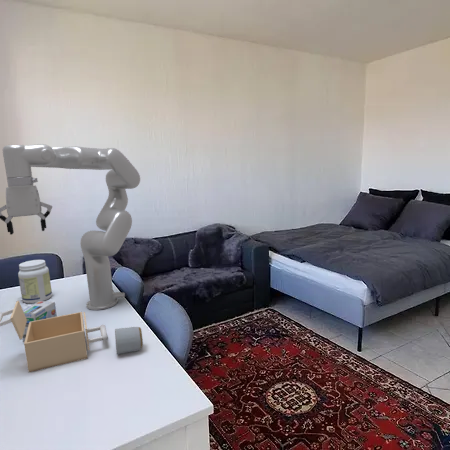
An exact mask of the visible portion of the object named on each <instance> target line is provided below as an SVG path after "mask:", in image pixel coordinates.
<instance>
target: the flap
mask: <svg viewBox="0 0 450 450" xmlns="http://www.w3.org/2000/svg"><path fill="white" fill-rule="evenodd" d="M23 310H24V309H23V307H22V305H21V303H20V300H17V301H16V302H15V304H14V307H13V308H10V309H9V310H5V311H3V312H2V311H0V327H3V326H5V325H8V324H10V323H11V324H12V325H13V328H14V330H15V332H16V334H17V337H18V339H19V340H23V338H22V337H23V333H24V330H25V326H26V322H27V319H26V316H25V314H24V312H23ZM8 315H10V318H7V319H4V320H3V317H6V316H8Z"/></svg>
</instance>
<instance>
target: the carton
mask: <svg viewBox="0 0 450 450" xmlns="http://www.w3.org/2000/svg"><path fill="white" fill-rule="evenodd" d="M86 317H87V316H86V312H85V311H83V312H82V311H78V312H74V313H69V314H64V315H63V314H61V315H59V316H58V315H57V317H52V318H47V319H42V320H37V321H32V322H29V326H28V330H27V334H26V338H25V342H23V343H24V344H23V345H24V353H25V357H26V365H27V370H28V373H33V372H37V371H42V370H45V369H49V368H54V367H57V366H62V365H66V364H70V363H74V362H79V361H83V360H87V359H88V351H90V350H91V349H90V344H92V343H98V342H100V341H101V342H102V341H103V342H106V341H108V339H109V337H108V333H107V328H106V324H100V326H95V327H90V328H88V325H87V318H86ZM96 331H100V336H98V337H93V338H90V339H89V333H93V332H96Z"/></svg>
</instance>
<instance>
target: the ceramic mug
mask: <svg viewBox="0 0 450 450" xmlns="http://www.w3.org/2000/svg"><path fill="white" fill-rule="evenodd" d="M114 338H115V352H116V355H121V354H126V353H131V352H137V351H139V350H141V349H143V346H144V345H143V343H144V342H143V330H142V328H141V327H140V326H131V327H130V326H129V327H121V328H115V329H114Z"/></svg>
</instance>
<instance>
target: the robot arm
mask: <svg viewBox="0 0 450 450" xmlns="http://www.w3.org/2000/svg"><path fill="white" fill-rule="evenodd" d="M2 157H3V163H4V168H5V170H4V171H5V175H6V181H7V187H5V204H4V205H3V206H1V207H0V220H1V221H3V222H4V223H5V225H6V229H7V233H9V235H11V236H12V235H13V234H14V225H13V222H12V219H13V217H14V218H16V217H18V218H19V217H29V216H38V218H40V227H41V232H45V229H47V222H46V218H48V216H50V214H51V211H52V209H53V205H51V204H49V203H46V202H43V201H41V199H40V194H39V190H38V187H37V185H34V183H38V182H39V180H38V178H37V177H36V178H35V177H33V172H32V168H48V169H49V168H50V169H51V168H52V169H55V168H56V169H67V170H68V169H69V170H96V171H102V170H103V171H104V170H105V171H107V170H108V171H107V173H106V174H105V183H106V186H107V189H108V196H107V199H106V201H105V202H104V205H103V207H102V208H101V210H100V211H99V213H98V215H97V216H96V220H95V224H96V227H97V228H98V229H99V230H89V231H86V232H85V233H84V234H83V235H81V238H80V249H81V251H82V255H83V259H84V264H85V272H86V279H87V281H86V282H87V288H88V297H89V301H87V302H86V308H87V309H89V310H92V311H100V310H106V309H109V308H113V307H114V306H116V305H117V304H118V303H119V298H125V297H126V293H125V292H121V291H119V292H115V291H114V290H113V281H112V279H113V278H112V272H111V263H110V258H109V257H113V256H115V255H117V253H118V252H120V250H121V247H122V246H123V244H124V242H125V241H126V239H127V237H128V236H129V235H128V234H129V233H130V231H131V229H132V226H133V225H132V224H133V217H132V215H131V213H130V212H129V211H127V210H126V208H127V207H128V203H129V198H128V197H129V196H128V193H127V190H133V189H135V188H137V187H138V186H139V185H140V183H141V175H140V173H139V171H138V170H137V168H136V167H135V166H134V164H133V163H132V162H131V161H130V160H129V159H128V158H127V157H126V156H125V155H124V153H123V152H121V151H120V150H119V149H117V148H115V147H110V148H109V147H108V148H107V147H106V148H95V147H83V146H63V147H61V146H60V147H52V146H50V145H48V144H43V143H42V144H41V143H40V144H39V143H38V144H30V145H24V144H8V145H4V146H3V147H2ZM42 207H43V208H46V211H45V213H43V212H42ZM5 210H6V213H7V217H6V216H5V215H4V214H3V213H2V212H3V211H5Z"/></svg>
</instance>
